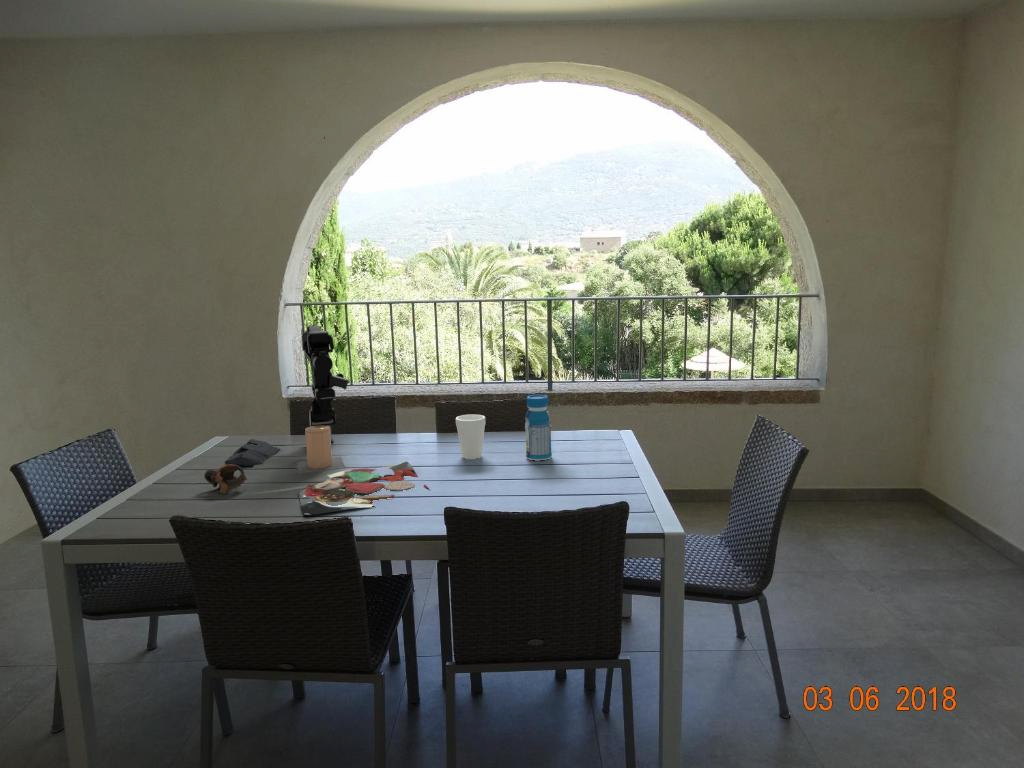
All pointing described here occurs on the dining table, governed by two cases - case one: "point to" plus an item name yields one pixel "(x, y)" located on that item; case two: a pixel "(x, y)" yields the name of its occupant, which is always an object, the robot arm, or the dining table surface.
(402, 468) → the colorful flat pile
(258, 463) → the dark slate chunk
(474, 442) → the foam cup
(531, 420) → the beverage bottle
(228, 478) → the brown rounded piece
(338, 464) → the charcoal mat
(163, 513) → the dining table surface
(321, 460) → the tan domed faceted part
